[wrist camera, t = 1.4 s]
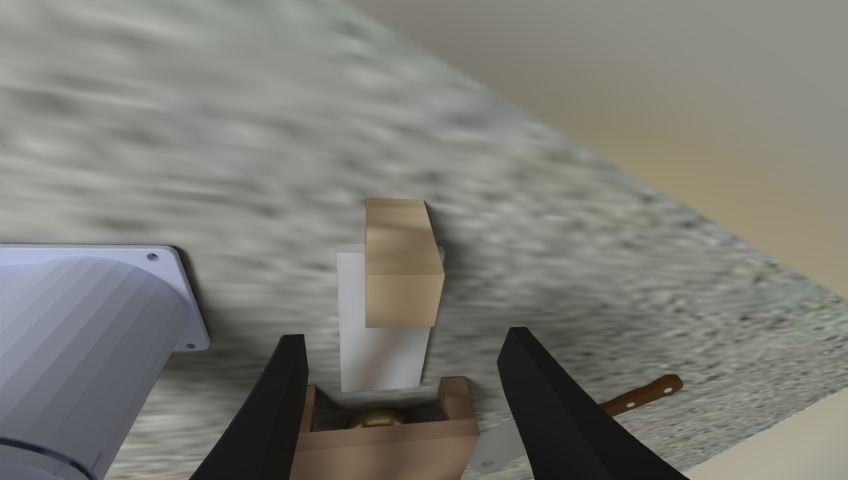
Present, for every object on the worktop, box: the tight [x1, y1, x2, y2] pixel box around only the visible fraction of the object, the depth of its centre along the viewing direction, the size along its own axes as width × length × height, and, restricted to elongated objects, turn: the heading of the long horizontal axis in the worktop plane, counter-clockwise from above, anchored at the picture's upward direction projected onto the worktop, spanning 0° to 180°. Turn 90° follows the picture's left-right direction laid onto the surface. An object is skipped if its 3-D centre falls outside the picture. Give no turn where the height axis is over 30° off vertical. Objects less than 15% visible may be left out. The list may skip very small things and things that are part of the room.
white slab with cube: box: [337, 198, 445, 392], centre depth 20 cm, size 6×16×6 cm, turn 173°
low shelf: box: [289, 376, 480, 480], centre depth 28 cm, size 14×11×5 cm
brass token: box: [349, 407, 405, 429], centre depth 30 cm, size 5×5×2 cm
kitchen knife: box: [468, 374, 683, 473], centre depth 35 cm, size 24×1×10 cm
